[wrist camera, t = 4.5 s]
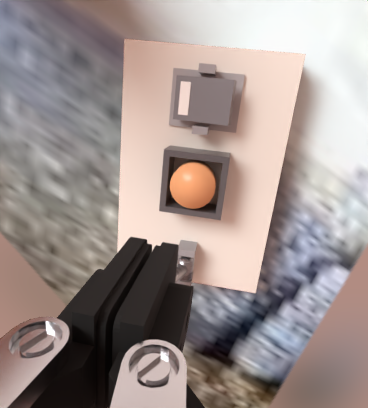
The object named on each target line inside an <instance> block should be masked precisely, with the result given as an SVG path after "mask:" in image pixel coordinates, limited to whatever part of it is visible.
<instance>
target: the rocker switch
mask: <svg viewBox="0 0 368 408" xmlns="http://www.w3.org/2000/svg"><path fill="white" fill-rule="evenodd" d="M236 83H237V81H236V80H230V79H218V78H206V77H194V76H182V75H177V77H176V89H175V101H174V112H173V119H177V120H185V121H193V122H201V123H209V124H217V125H225V126H230V124H231V117H232V110H233V103H234V97H235V90H236Z"/></svg>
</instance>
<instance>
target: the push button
mask: <svg viewBox="0 0 368 408" xmlns="http://www.w3.org/2000/svg"><path fill="white" fill-rule="evenodd" d="M215 188H216V175H215V173H214V171H213V169H212V168H211V167H210V166H209V165H208V164H207V163H205V162H203V161H199V160H191V161H187V162H185V163H183V164H182V165H181V166H180V167H179V168H178V169H177V170H176V171H175V173H174V174H173V176H172V178H171V181H170V191H171V194H172V196H173V198H174V199H175V201H176V202H177V203H179V204H180V205H181V206H183V207H186V208H190V209H196V208H200V207H203V206H205V205H206V204H208V203H209V202H210V201H211V199H212V197H213V195H214V192H215Z"/></svg>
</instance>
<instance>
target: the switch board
mask: <svg viewBox="0 0 368 408" xmlns="http://www.w3.org/2000/svg"><path fill="white" fill-rule="evenodd" d="M305 55H306V54H298V53H286V52H274V51H263V50H251V49H239V48H227V47H216V46H204V45H192V44H181V43H169V42H157V41H145V40H134V39H124V66H123V97H122V128H121V158H120V189H119V220H118V251H117V253H118V252H119V250H120V249H121V248H122V247H123V245H124V244H125V243H126V242H127V240H128V239H129V238H130V237H136V238H142V239H147V244H152V251H153V249H154V247H155V246H156V245H158V246H161V244H162V242H166V243H172V244H178V245H179V250H178V255H179V256H185V257H191V258H194V257H195V259H194V267H193V274H192V278H191V279H190V280H188V281H182V280H179V281H178V282H177V283H178V284H183V285H189V286H191V284H192V282H194V283H200V284H205V285H211V286H217V287H223V288H228V289H234V290H240V291H246V292H251V293H256V289H257V284H258V279H259V274H260V270H261V265H262V260H263V255H264V251H265V246H266V241H267V236H268V232H269V227H270V222H271V217H272V212H273V208H274V203H275V198H276V193H277V189H278V184H279V179H280V174H281V170H282V165H283V160H284V155H285V150H286V146H287V141H288V136H289V131H290V127H291V122H292V117H293V112H294V108H295V103H296V98H297V93H298V88H299V84H300V79H301V74H302V69H303V65H304V60H305ZM177 75H182V76H194V77H206V78H218V79H230V80H236V81H237V83H236V90H235V97H234V103H233V110H232V117H231V124H230V126H225V125H217V124H209V123H201V122H193V121H185V120H177V119H173V112H174V101H175V89H176V77H177ZM191 160H199V161H203V162H205V163H207V164H208V165H209V166H210V167H211V168H212V169H213V171H214V173H215V175H216V188H215V192H214V195H213V197H212V199H211V201H210V202H209V203H208V204H206V205H205V206H203V207H200V208H196V209H190V208H186V207H183V206H181V205H180V204H179V203H177V202H176V201H175V199H174V198H173V196H172V194H171V191H170V181H171V178H172V176H173V174H174V173H175V171H176V170H177V169H178V168H179V167H180V166H181V165H182V164H183V163H185V162H187V161H191Z"/></svg>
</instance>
